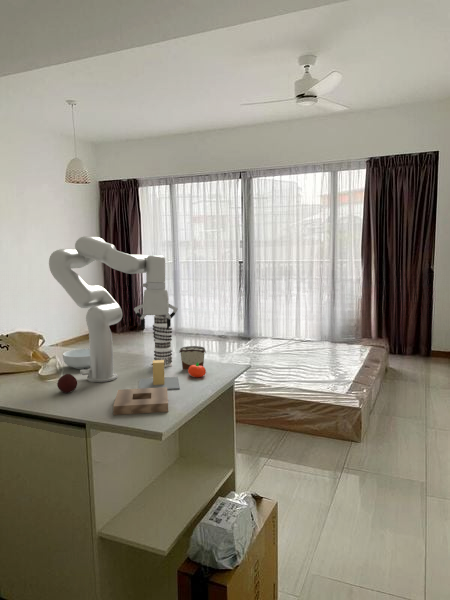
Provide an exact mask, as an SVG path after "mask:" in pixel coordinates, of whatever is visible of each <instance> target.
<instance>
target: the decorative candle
mask: <svg viewBox="0 0 450 600" xmlns="http://www.w3.org/2000/svg"><path fill="white" fill-rule="evenodd" d="M167 319H168V317H167V316H166V315H153V321H154V322H153V324H152V327H153V328H152V330H153V332H152V334H153V336H152V337H153V342H154V350H153V352H154V354H153V356H154V357H153V360H164V368H167V367H172V365H173V357H172V355H173V353H172V352H173V350H172V346H171V345H172V343H171V342H172V341H173V338H172V337H173V335H172V333H173V331H172V330H173V328H172V327H169V329H167Z"/></svg>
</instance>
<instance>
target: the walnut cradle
mask: <svg viewBox="0 0 450 600" xmlns="http://www.w3.org/2000/svg"><path fill="white" fill-rule="evenodd" d="M112 405H113V406H112V408H113V409H112V410H113V413H112V414H113V416H120V415H123V416H124V415H137V414H155V413H168V412H169V396H168V390H167V387H161V388H142V389H138V388H127V389H122V388H121V389H117V392H116V396H115V399H114V402H113V404H112Z"/></svg>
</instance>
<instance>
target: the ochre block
mask: <svg viewBox="0 0 450 600" xmlns="http://www.w3.org/2000/svg"><path fill="white" fill-rule="evenodd" d="M164 377H165V367H164V360H154V359H152V378H153V385H162V384H165V382H164Z"/></svg>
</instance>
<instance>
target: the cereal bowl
mask: <svg viewBox="0 0 450 600" xmlns="http://www.w3.org/2000/svg"><path fill="white" fill-rule="evenodd" d="M62 359H63V363H64V364H65V365H66V366H68V367H71V368H73V369H76V370H85V369H90V348H77V349H71V350H67V351H65V352H63V353H62ZM84 368H85V369H84Z"/></svg>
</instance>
